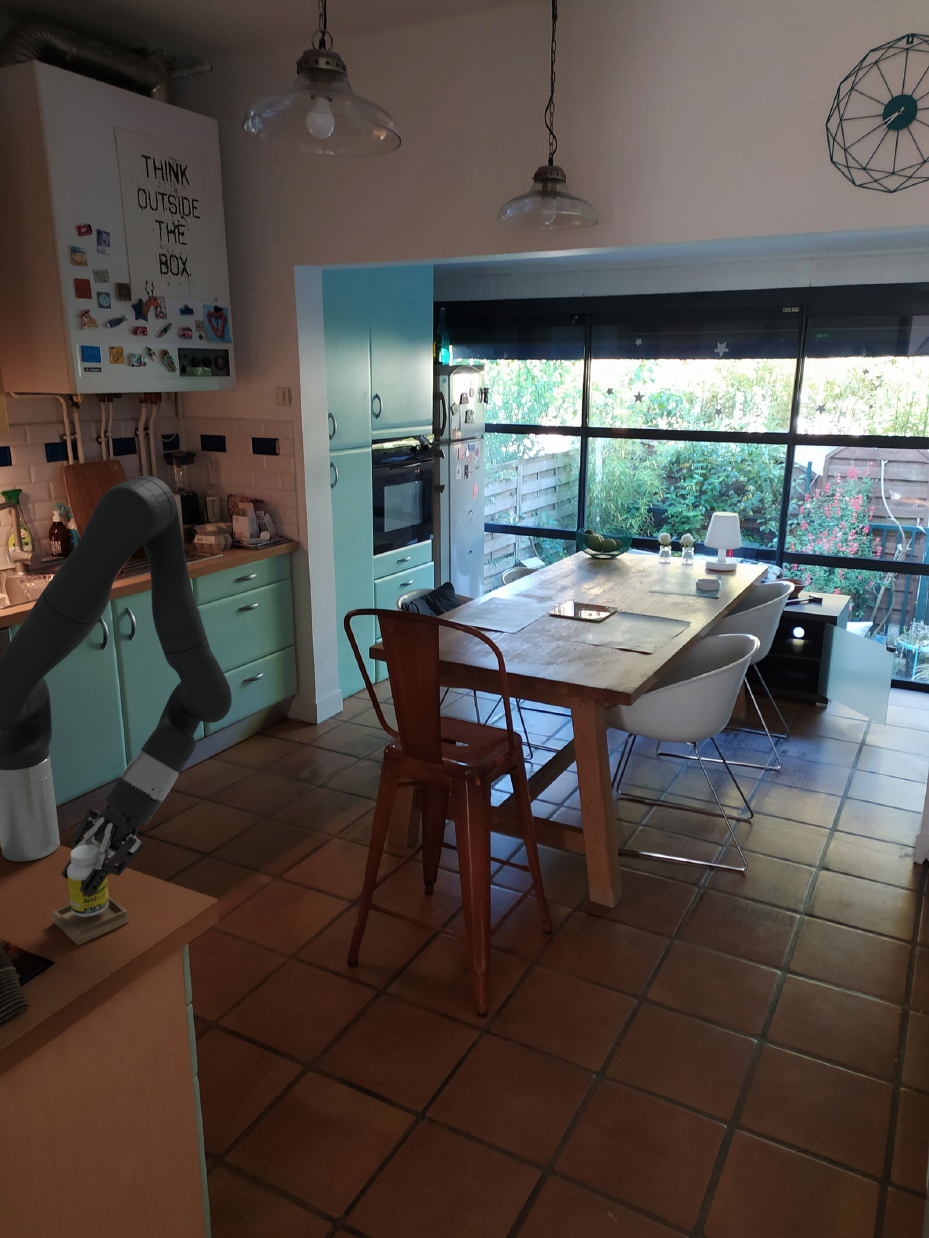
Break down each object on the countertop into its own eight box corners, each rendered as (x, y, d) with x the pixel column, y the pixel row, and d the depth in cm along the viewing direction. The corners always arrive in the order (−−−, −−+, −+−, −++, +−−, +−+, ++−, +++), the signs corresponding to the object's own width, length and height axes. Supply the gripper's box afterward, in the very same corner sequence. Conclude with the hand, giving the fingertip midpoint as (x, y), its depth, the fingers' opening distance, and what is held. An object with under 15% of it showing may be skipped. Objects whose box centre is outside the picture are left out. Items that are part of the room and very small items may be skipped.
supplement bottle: (84, 922, 136) (77, 864, 133) (64, 909, 139) (57, 852, 136) (116, 905, 140) (110, 849, 137) (97, 893, 143) (90, 837, 141)
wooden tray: (53, 922, 140) (52, 911, 139) (103, 901, 146) (102, 890, 145) (78, 945, 135) (76, 933, 134) (128, 921, 141) (127, 910, 140)
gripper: (102, 763, 144) (34, 859, 139) (149, 792, 135) (79, 897, 130) (136, 782, 149) (72, 875, 144) (184, 812, 140) (117, 913, 135)
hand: (76, 885), depth 137 cm, fingers closed on supplement bottle, 5 cm apart
